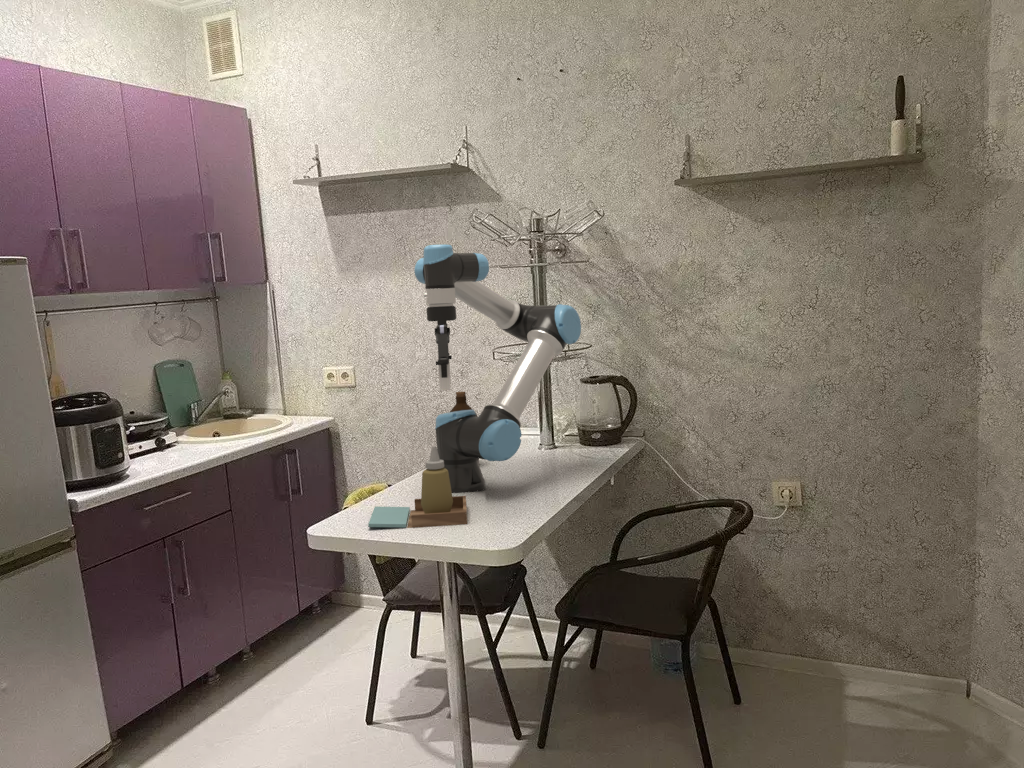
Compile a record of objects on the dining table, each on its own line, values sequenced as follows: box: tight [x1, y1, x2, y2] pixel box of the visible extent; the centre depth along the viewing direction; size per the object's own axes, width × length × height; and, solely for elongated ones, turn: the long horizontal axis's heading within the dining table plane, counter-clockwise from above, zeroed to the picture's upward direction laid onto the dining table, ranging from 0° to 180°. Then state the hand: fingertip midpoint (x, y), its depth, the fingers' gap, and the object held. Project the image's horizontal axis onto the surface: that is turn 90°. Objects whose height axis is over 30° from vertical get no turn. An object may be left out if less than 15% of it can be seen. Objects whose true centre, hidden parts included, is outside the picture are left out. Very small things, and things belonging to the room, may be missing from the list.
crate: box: [406, 495, 468, 529], centre depth 193 cm, size 15×15×4 cm
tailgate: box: [367, 506, 411, 528], centre depth 192 cm, size 15×1×9 cm
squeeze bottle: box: [420, 446, 453, 514], centre depth 192 cm, size 8×8×18 cm
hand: (445, 387), depth 200 cm, fingers open, 13 cm apart
